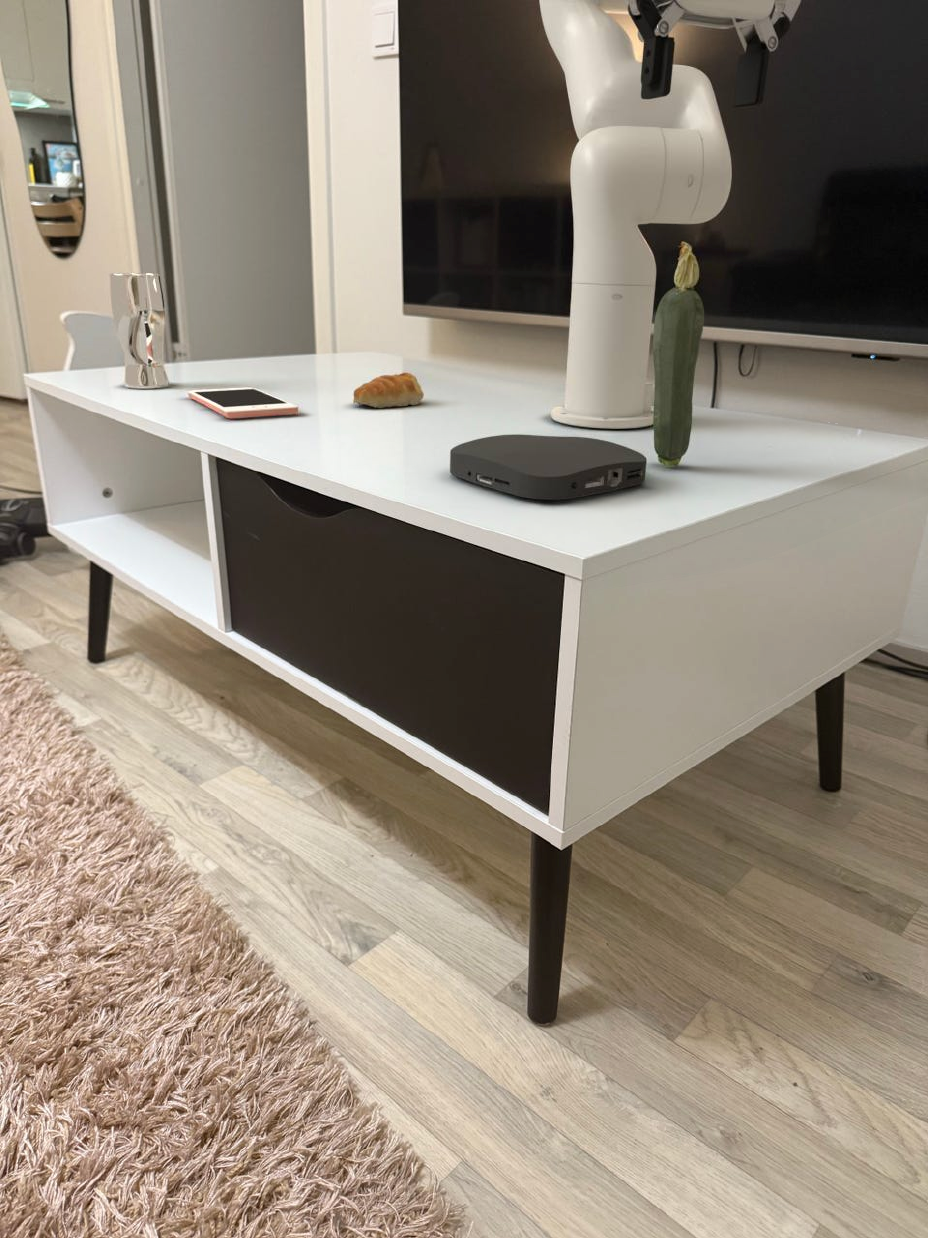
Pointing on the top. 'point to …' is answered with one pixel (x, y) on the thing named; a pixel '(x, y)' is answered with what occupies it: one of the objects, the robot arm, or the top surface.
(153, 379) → the silver vase
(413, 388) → the pastry
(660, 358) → the vegetable
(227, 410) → the cell phone
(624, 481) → the media streaming box
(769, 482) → the top surface
